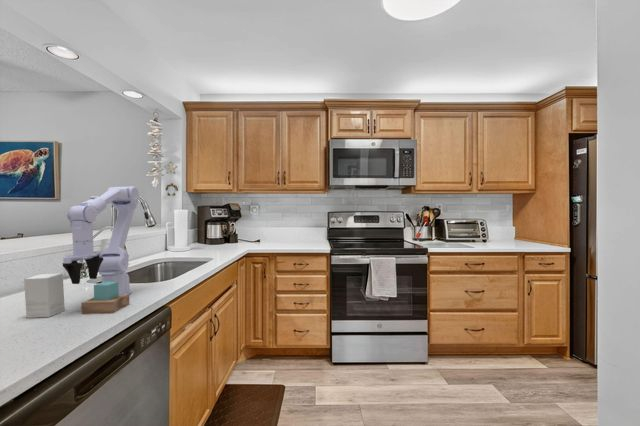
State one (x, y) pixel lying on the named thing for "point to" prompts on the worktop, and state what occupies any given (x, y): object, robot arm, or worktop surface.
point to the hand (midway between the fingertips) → (84, 281)
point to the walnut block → (105, 305)
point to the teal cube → (106, 291)
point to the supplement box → (44, 295)
